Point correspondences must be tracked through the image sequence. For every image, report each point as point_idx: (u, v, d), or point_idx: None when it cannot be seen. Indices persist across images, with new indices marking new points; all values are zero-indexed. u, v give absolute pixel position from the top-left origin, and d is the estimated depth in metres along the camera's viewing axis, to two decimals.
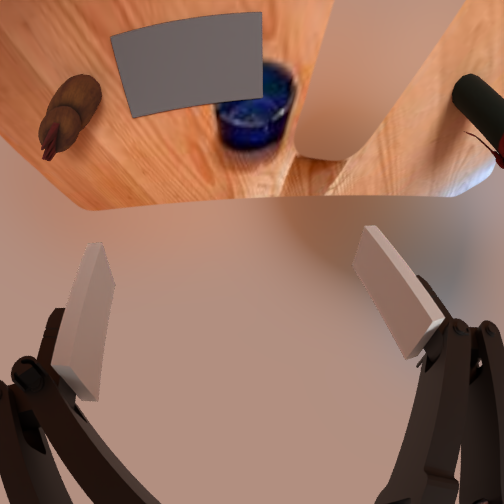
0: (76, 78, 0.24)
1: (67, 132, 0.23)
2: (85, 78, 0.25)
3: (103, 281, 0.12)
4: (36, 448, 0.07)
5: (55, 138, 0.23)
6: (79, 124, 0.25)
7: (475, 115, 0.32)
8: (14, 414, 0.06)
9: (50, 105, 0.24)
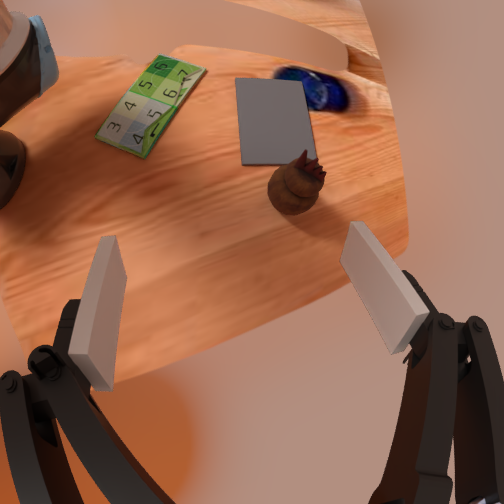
0: None
1: (305, 159, 0.34)
2: None
3: (117, 273, 0.13)
4: (47, 440, 0.07)
5: None
6: None
7: None
8: (28, 406, 0.06)
9: (283, 194, 0.38)
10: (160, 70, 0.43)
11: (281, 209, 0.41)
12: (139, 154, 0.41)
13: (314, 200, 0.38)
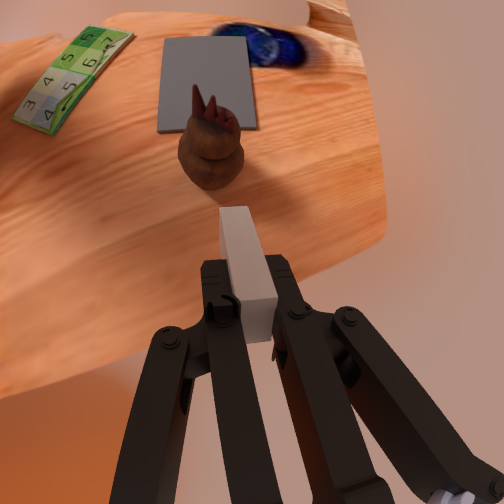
0: None
1: None
2: None
3: None
4: None
5: None
6: None
7: None
8: (183, 369, 0.08)
9: (190, 159, 0.27)
10: (85, 41, 0.32)
11: (195, 182, 0.30)
12: (47, 131, 0.30)
13: (234, 165, 0.27)
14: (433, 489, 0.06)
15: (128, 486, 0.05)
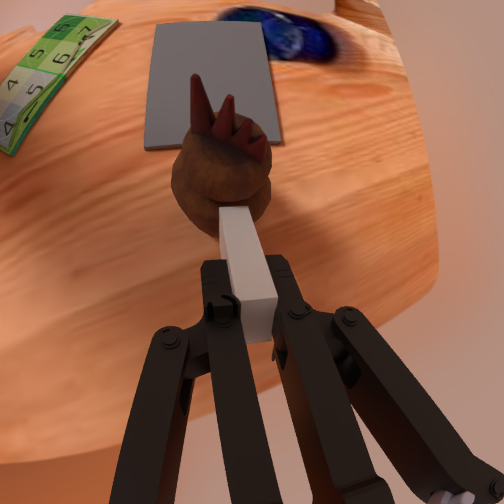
0: None
1: None
2: None
3: None
4: None
5: None
6: None
7: None
8: (183, 369, 0.08)
9: (189, 198, 0.17)
10: (59, 32, 0.23)
11: (198, 227, 0.21)
12: (6, 150, 0.21)
13: (258, 208, 0.18)
14: (433, 489, 0.06)
15: (128, 486, 0.05)
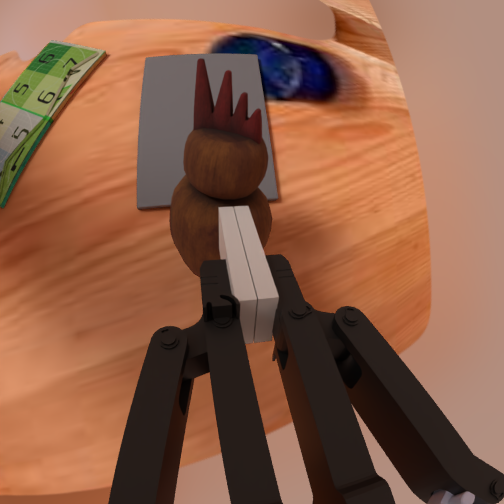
0: None
1: None
2: None
3: None
4: None
5: None
6: None
7: None
8: (182, 369, 0.08)
9: (190, 212, 0.17)
10: (43, 64, 0.23)
11: (200, 262, 0.19)
12: None
13: (261, 216, 0.18)
14: (433, 489, 0.06)
15: (127, 486, 0.05)
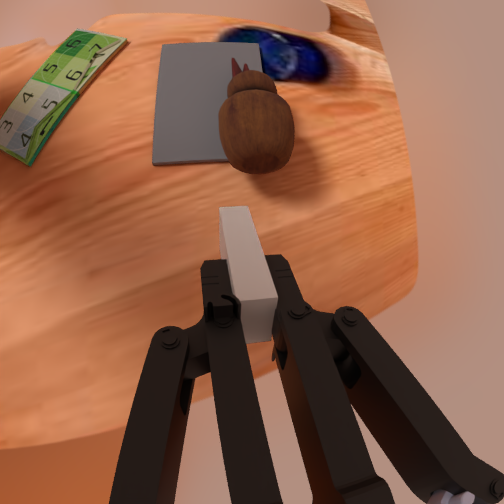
0: (223, 119, 0.24)
1: None
2: (221, 131, 0.24)
3: None
4: None
5: None
6: None
7: None
8: (183, 369, 0.08)
9: (255, 90, 0.24)
10: (71, 48, 0.27)
11: (272, 113, 0.23)
12: (23, 160, 0.25)
13: None
14: (433, 489, 0.06)
15: (128, 486, 0.05)
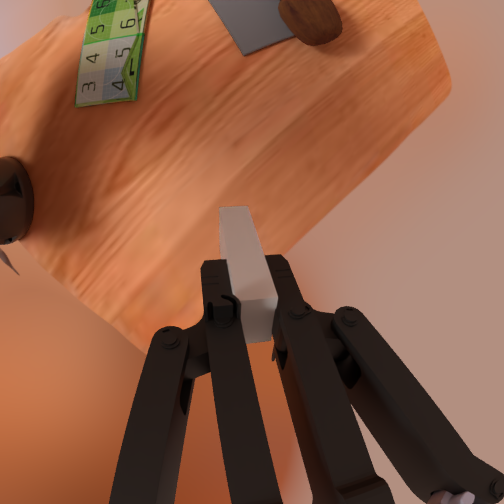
0: (290, 18, 0.26)
1: None
2: (290, 26, 0.28)
3: None
4: None
5: None
6: None
7: None
8: (183, 369, 0.08)
9: None
10: (104, 7, 0.28)
11: (322, 7, 0.24)
12: (128, 99, 0.34)
13: None
14: (433, 489, 0.06)
15: (128, 486, 0.05)
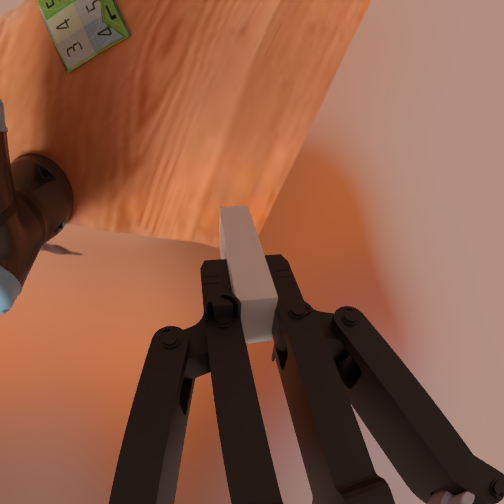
0: None
1: None
2: None
3: None
4: None
5: None
6: None
7: None
8: (183, 369, 0.08)
9: None
10: None
11: None
12: (122, 38, 0.29)
13: None
14: (433, 489, 0.06)
15: (128, 486, 0.05)
